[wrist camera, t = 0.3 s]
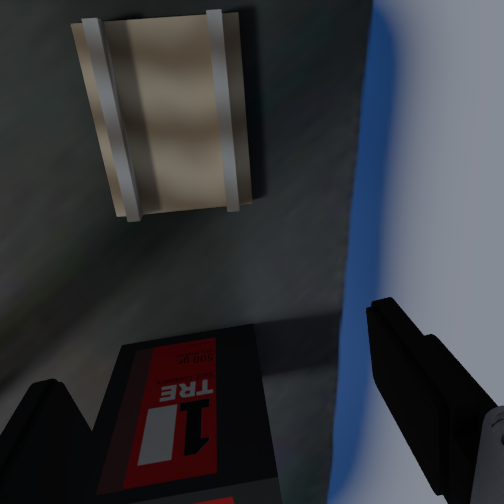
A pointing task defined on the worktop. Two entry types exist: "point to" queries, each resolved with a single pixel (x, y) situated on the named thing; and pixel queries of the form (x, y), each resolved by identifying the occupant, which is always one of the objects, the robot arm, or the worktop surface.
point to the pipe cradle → (168, 110)
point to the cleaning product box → (185, 424)
